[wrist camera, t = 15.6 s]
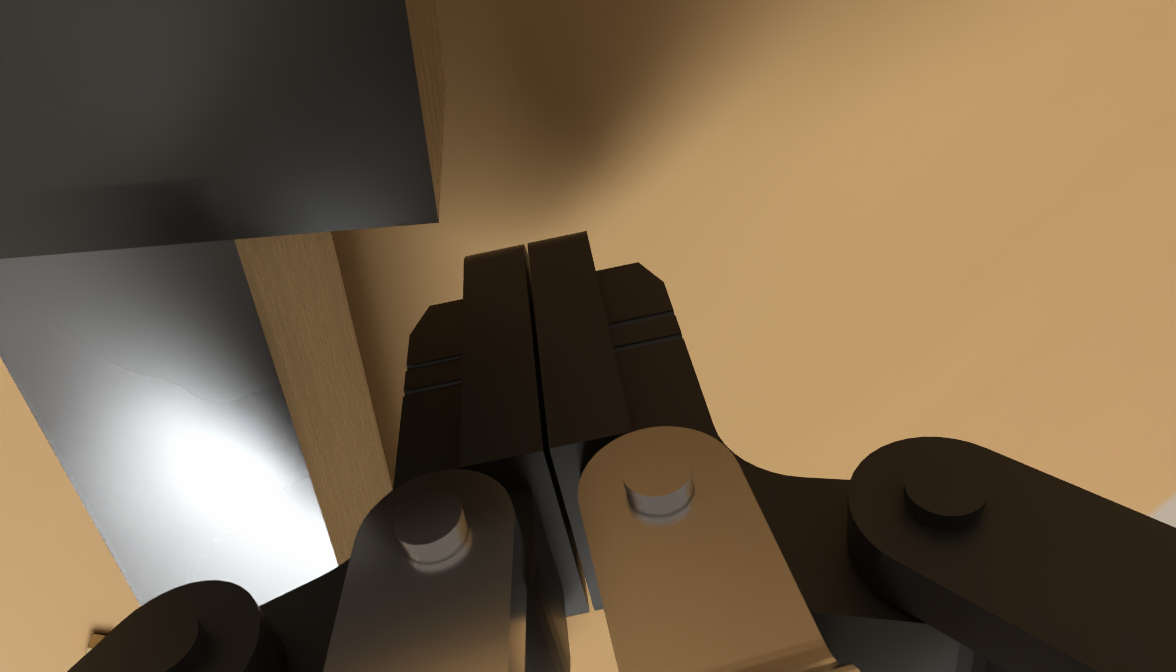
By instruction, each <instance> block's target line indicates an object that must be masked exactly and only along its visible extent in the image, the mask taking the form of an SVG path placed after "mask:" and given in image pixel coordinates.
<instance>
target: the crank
mask: <svg viewBox="0 0 1176 672" xmlns="http://www.w3.org/2000/svg"><path fill="white" fill-rule="evenodd" d="M444 103H445V82H444V74H443V67H442V59H441V52H440V44H439V36H438V29H437V21H436V14H435V6H434V0H0V357H1V358H2V360H3V362H4V364H5V366H6V367H7V369H8V371H9V373H10V374H11V376H12V378H13V380H14V382H15V383H16V385H17V387H18V389H19V390H20V392H21V394H22V396H23V398H24V399H25V401H26V403H27V405H28V407H29V408H30V410H31V412H32V414H33V415H34V417H35V419H36V421H37V423H38V424H39V426H40V428H41V430H42V431H43V433H44V435H45V437H46V439H47V440H48V442H49V444H50V446H51V447H52V449H53V451H54V453H55V455H56V456H57V458H58V460H59V462H60V463H61V465H62V467H63V469H64V471H65V472H66V474H67V476H68V478H69V479H70V481H71V483H72V485H73V487H74V488H75V490H76V492H77V494H78V495H79V497H80V499H81V501H82V503H83V504H84V506H85V508H86V510H87V511H88V513H89V515H90V517H91V519H92V520H93V522H94V524H95V526H96V527H97V529H98V531H99V533H100V535H101V536H102V538H103V540H104V542H105V543H106V545H107V547H108V549H109V551H110V552H111V554H112V556H113V558H114V559H115V561H116V563H117V565H118V567H119V568H120V570H121V572H122V574H123V575H124V577H125V579H126V581H127V583H128V584H129V586H130V588H131V590H132V591H133V593H134V595H135V597H136V599H137V600H138V602H139V604H140V606H142V605H144V604H145V603H147V602H148V601H150V600H152V599H153V598H155V597H157V596H159V595H161V594H162V593H165V592H167V591H169V590H172V589H174V588H176V587H179V586H182V585H186V584H189V583H192V582H198V581H205V580H221V581H227V582H232V583H234V584H236V585H239V586H241V587H242V588H244V589H245V590H246V591H248V592H249V593H250V594H251V596H252V597H253V598H254V600H255V601H256V603H257V604H258V606H260V605H262V604H264V603H266V602H268V601H271V600H273V599H275V598H277V597H279V596H281V595H283V594H285V593H287V592H289V591H291V590H293V589H295V588H297V587H300V586H302V585H304V584H306V583H308V582H310V581H312V580H314V579H316V578H318V577H320V576H322V575H324V574H326V573H328V572H329V571H331V570H333V569H335V568H336V567H338V566H339V565H341V564H342V563H344V562H345V561H347V560H348V559H349V558H350V556H351V552H352V548H353V544H354V540H355V537H356V534H357V531H358V529H359V527H360V526H361V524H362V522H363V520H364V518H365V517H366V516H367V514H368V513H369V512H370V510H371V509H372V508H373V507H374V506H375V505H376V504H377V503H378V502H379V501H380V500H381V499H382V498H383V497H385V496H386V495H387V494H388V493H390V492H391V491H392V490H393V489H392V485H391V481H390V477H389V472H388V468H387V464H386V460H385V456H384V452H383V447H382V443H381V439H380V435H379V431H378V427H377V422H376V418H375V414H374V410H373V406H372V401H371V397H370V393H369V389H368V385H367V381H366V376H365V372H364V368H363V364H362V360H361V356H360V351H359V347H358V343H357V339H356V335H355V331H354V326H353V322H352V318H351V314H350V310H349V306H348V301H347V297H346V293H345V289H344V285H343V281H342V276H341V272H340V268H339V264H338V260H337V255H336V251H335V247H334V243H333V239H332V235H331V231H343V230H355V229H367V228H379V227H391V226H403V225H415V224H427V223H439V208H440V187H441V166H442V145H443V124H444Z"/></svg>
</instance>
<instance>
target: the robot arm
mask: <svg viewBox="0 0 1176 672" xmlns="http://www.w3.org/2000/svg"><path fill="white" fill-rule="evenodd" d="M528 255H529V257H528ZM407 369H408V371H406V375H405V384H404V393H405V397H403V403H402V412H401V421H400V431H399V440H398V450H397V459H396V468H395V478H394V487H393V490H392V491H391V492H390V493H388V494H387V495H386V496H385V497H383V498H382V499H381V500H380V501H379V502H378V503H377V504H376V505H375V506H374V507H373V508H372V509H371V510H370V512H369V513H368V514H367V516H366V517H365V518H364V520H363V522H362V524H361V526H360V527H359V529H358V531H357V534H356V537H355V540H354V544H353V548H352V552H351V556H350V558H349V559H348V560H347V561H345V562H344V563H342V564H341V565H339V566H338V567H336V568H335V569H333V570H331V571H329V572H328V573H326V574H324V575H322V576H320V577H318V578H316V579H314V580H312V581H310V582H308V583H306V584H304V585H302V586H300V587H297V588H295V589H293V590H291V591H289V592H287V593H285V594H283V595H281V596H279V597H277V598H275V599H273V600H271V601H268V602H266V603H264V604H262V605H260V606H258V604H257V603H256V601H255V600H254V598H253V597H252V596H251V594H250V593H249V592H248V591H246V590H245V589H244V588H242V587H241V586H239V585H236V584H234V583H232V582H227V581H221V580H205V581H198V582H192V583H189V584H186V585H182V586H179V587H176V588H174V589H172V590H169V591H167V592H165V593H162V594H161V595H159V596H157V597H155V598H153V599H152V600H150V601H148V602H147V603H145V604H144V605H142V606H141V607H139V608H138V609H136V610H135V611H134V612H133V613H131V614H130V615H129V616H128V617H127V618H125V619H124V620H123V621H122V622H121V623H120V624H118V625H117V626H116V627H115V628H114V629H113V630H112V631H111V632H110V633H109V634H108V635H106V636H105V637H104V638H103V639H102V640H101V641H100V642H99V643H98V644H97V645H96V646H95V647H93V648H92V649H91V650H90V651H89V652H88V653H87V654H86V655H85V656H84V657H83V658H82V659H80V660H79V661H78V662H77V663H76V664H75V665H74V666H73V667H72V668H71V669H70V670H68V671H67V672H570V651H569V641H568V631H567V622H566V617H568V616H573V615H578V614H583V613H588V612H589V605H588V597H587V590H586V582H587V585H588V589H589V592H590V596H591V600H592V603H593V607H594V610H600V609H604V612H605V616H606V620H607V624H608V629H609V633H610V637H611V641H612V645H613V649H614V653H615V658H616V662H617V666H618V670H619V672H1176V528H1175V527H1172V526H1170V525H1168V524H1165V523H1163V522H1160V521H1158V520H1156V519H1153V518H1151V517H1149V516H1146V515H1144V514H1141V513H1139V512H1137V511H1134V510H1132V509H1130V508H1127V507H1125V506H1122V505H1120V504H1118V503H1115V502H1113V501H1111V500H1108V499H1106V498H1103V497H1101V496H1099V495H1096V494H1094V493H1092V492H1089V491H1087V490H1084V489H1082V488H1080V487H1077V486H1075V485H1073V484H1070V483H1068V482H1065V481H1063V480H1061V479H1058V478H1056V477H1053V476H1051V475H1049V474H1046V473H1044V472H1042V471H1039V470H1037V469H1034V468H1032V467H1030V466H1027V465H1025V464H1023V463H1020V462H1018V461H1015V460H1013V459H1011V458H1008V457H1006V456H1004V455H1001V454H999V453H996V452H994V451H992V450H989V449H987V448H984V447H981V446H979V445H976V444H973V443H970V442H966V441H962V440H957V439H951V438H943V437H917V438H909V439H904V440H900V441H896V442H893V443H890V444H888V445H885V446H883V447H881V448H879V449H877V450H876V451H874V452H872V453H871V454H869V455H868V456H867V457H866V458H865V459H864V460H863V461H862V462H861V463H860V464H859V466H858V467H857V468H856V470H855V471H854V473H853V475H852V478H851V480H841V479H823V478H805V477H795V476H786V475H782V474H778V473H773V472H770V471H767V470H764V469H761V468H758V467H756V466H754V465H752V464H750V463H748V462H746V461H744V460H743V459H742V458H740V457H739V456H737V455H736V454H734V453H733V452H732V451H731V450H730V449H729V448H728V447H727V446H726V445H725V444H724V443H723V441H722V440H721V439H720V437H719V436H718V434H717V432H716V429H715V427H714V425H713V422H712V419H711V416H710V413H709V411H708V408H707V405H706V402H705V399H704V396H703V393H702V390H701V388H700V385H699V382H698V379H697V376H696V373H695V370H694V368H693V365H692V362H691V359H690V356H689V353H688V350H687V347H686V345H685V342H684V339H683V338H682V334H681V330H680V327H679V325H678V322H677V319H676V316H675V315H674V311H673V307H672V304H671V302H670V299H669V296H668V293H667V290H666V287H665V284H664V282H663V281H662V280H660V279H659V278H658V277H656V276H655V275H654V274H653V273H651V272H650V271H649V270H647V269H646V268H645V267H644V266H642V265H641V264H640V263H638V262H637V263H633V264H628V265H623V266H618V267H613V268H609V269H604V270H599V271H596V270H595V266H594V262H593V257H592V253H591V249H590V244H589V240H588V235H587V231H584V232H579V233H575V234H570V235H565V236H560V237H555V238H551V239H546V240H541V241H536V242H532V243H528V253H527V250H526V247H525V245H524V244H523V245H518V246H514V247H509V248H504V249H499V250H494V251H490V252H485V253H480V254H475V255H470V256H466V257H465V258H464V280H463V299H461V300H456V301H451V302H446V303H442V304H437V305H432V306H429V308H428V309H427V311H426V312H425V314H424V315H423V317H422V318H421V320H420V321H419V322H418V324H417V325H416V327H415V328H414V330H413V331H412V333H411V334H410V337H409V347H408V356H407ZM585 578H586V582H585Z"/></svg>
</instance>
